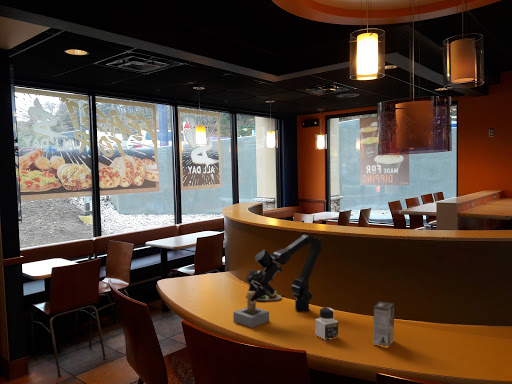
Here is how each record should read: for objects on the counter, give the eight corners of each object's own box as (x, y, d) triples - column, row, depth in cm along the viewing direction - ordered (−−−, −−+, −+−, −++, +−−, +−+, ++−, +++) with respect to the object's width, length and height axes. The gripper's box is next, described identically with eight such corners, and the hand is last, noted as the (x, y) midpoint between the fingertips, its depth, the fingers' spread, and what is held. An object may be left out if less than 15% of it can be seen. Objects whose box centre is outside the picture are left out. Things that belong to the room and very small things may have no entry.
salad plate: (281, 292, 236) (281, 284, 236) (288, 301, 218) (288, 293, 218) (249, 293, 233) (249, 285, 233) (253, 303, 216) (253, 294, 216)
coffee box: (378, 337, 169) (379, 300, 168) (394, 341, 166) (394, 303, 165) (372, 345, 161) (373, 306, 161) (388, 349, 158) (389, 309, 157)
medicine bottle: (325, 340, 166) (325, 312, 165) (314, 334, 172) (315, 307, 172) (338, 337, 169) (338, 310, 169) (328, 331, 175) (328, 305, 175)
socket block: (250, 314, 197) (250, 305, 196) (269, 320, 188) (269, 311, 188) (233, 321, 188) (233, 311, 188) (251, 327, 180) (251, 318, 179)
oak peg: (257, 312, 189) (257, 291, 188) (253, 314, 185) (253, 293, 185) (249, 310, 191) (249, 290, 190) (245, 313, 187) (245, 292, 187)
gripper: (248, 259, 197) (229, 284, 192) (269, 267, 181) (248, 294, 176) (262, 273, 201) (243, 298, 196) (283, 281, 186) (263, 308, 180)
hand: (249, 299), depth 187 cm, fingers closed on oak peg, 4 cm apart
